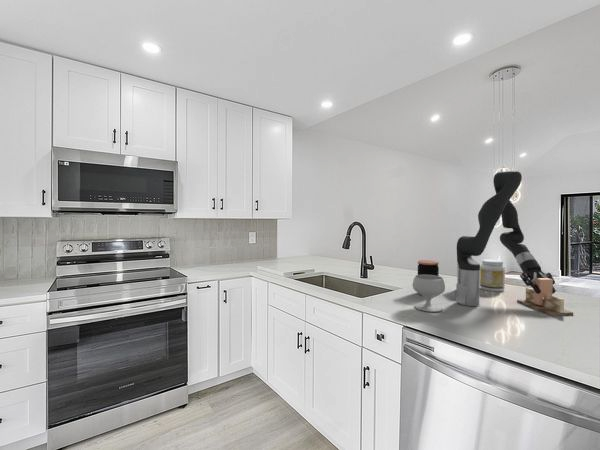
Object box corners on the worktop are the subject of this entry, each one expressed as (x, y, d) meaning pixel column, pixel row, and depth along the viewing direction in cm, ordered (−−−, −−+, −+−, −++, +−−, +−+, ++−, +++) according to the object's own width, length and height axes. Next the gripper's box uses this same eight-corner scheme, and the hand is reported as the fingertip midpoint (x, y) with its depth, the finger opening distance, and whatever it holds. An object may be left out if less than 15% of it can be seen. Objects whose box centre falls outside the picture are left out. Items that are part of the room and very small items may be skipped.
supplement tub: (484, 285, 185) (484, 258, 185) (507, 289, 176) (508, 260, 175) (476, 289, 177) (477, 260, 177) (500, 293, 168) (501, 262, 167)
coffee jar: (441, 296, 161) (442, 263, 161) (421, 296, 162) (422, 263, 161) (433, 291, 172) (433, 260, 171) (414, 291, 172) (414, 260, 172)
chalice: (451, 310, 139) (451, 277, 138) (432, 315, 132) (432, 281, 131) (424, 302, 151) (425, 272, 150) (406, 307, 144) (406, 275, 143)
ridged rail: (517, 301, 151) (517, 287, 151) (536, 301, 151) (537, 287, 151) (550, 315, 131) (551, 299, 131) (573, 315, 131) (573, 298, 131)
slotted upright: (534, 303, 143) (534, 278, 142) (546, 303, 143) (547, 278, 142) (539, 305, 140) (540, 279, 139) (552, 305, 140) (552, 279, 139)
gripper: (517, 258, 148) (535, 288, 137) (546, 258, 148) (567, 288, 137) (509, 267, 153) (526, 297, 142) (537, 267, 154) (556, 296, 142)
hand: (546, 292), depth 139 cm, fingers open, 6 cm apart
